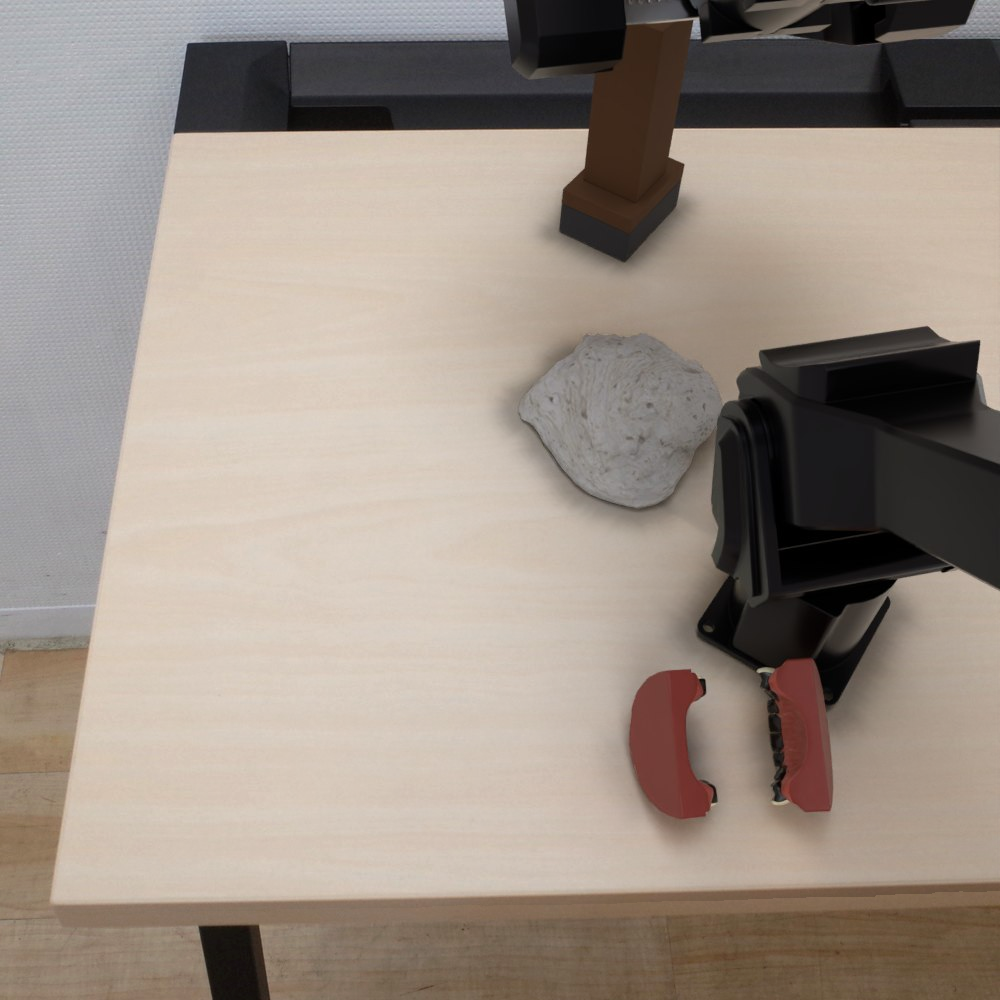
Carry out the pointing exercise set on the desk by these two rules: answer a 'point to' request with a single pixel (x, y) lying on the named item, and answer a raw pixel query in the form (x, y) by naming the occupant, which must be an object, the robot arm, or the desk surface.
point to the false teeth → (796, 747)
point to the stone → (624, 416)
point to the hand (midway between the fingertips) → (671, 27)
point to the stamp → (630, 144)
